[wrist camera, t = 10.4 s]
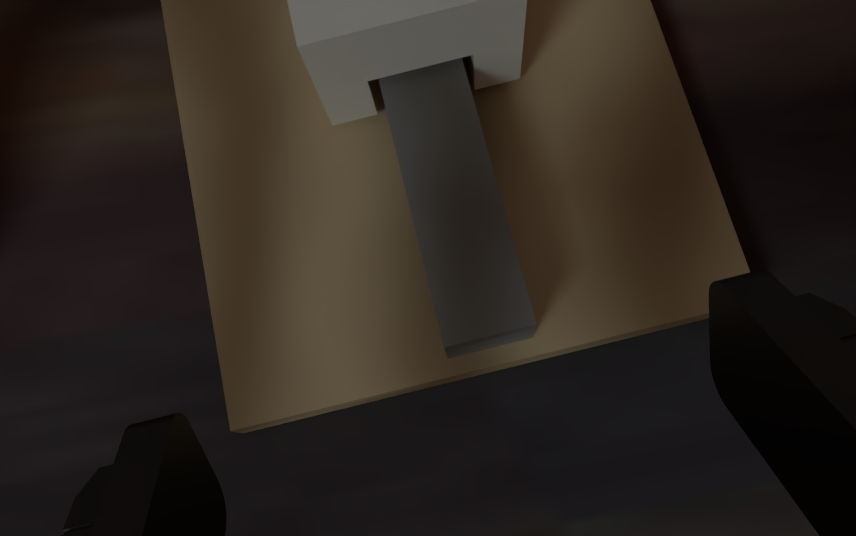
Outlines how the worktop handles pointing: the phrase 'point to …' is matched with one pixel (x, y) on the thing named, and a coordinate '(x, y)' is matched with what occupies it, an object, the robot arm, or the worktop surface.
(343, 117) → the white handled block
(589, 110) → the track
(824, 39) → the worktop surface
